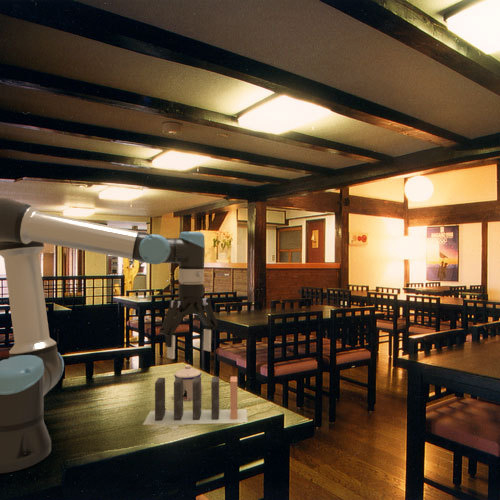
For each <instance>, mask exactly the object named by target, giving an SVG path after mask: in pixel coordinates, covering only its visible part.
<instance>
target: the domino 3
mask: <svg viewBox="0 0 500 500" xmlns="http://www.w3.org/2000/svg"><path fill="white" fill-rule="evenodd" d="M201 384H202V377H201V376H200V377H194V380H193V401H192V410H193V420H200V416H201V410H202V394H201Z"/></svg>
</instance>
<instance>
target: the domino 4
mask: <svg viewBox="0 0 500 500" xmlns="http://www.w3.org/2000/svg"><path fill="white" fill-rule="evenodd" d="M210 382H211V384H210V385H211V392H210V394H211V400H210V401H211V403H210V404H211V410H212V420H218V419H219V410H220V376H212V378H211V381H210Z"/></svg>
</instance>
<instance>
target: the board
mask: <svg viewBox="0 0 500 500" xmlns="http://www.w3.org/2000/svg"><path fill="white" fill-rule="evenodd" d="M243 422H247V423H248V408H244V409H243V408H239V409H238V408H237V419H231V417H230V408H229V409H219V419H218V420H212V409H201V416H200V420H193V409H188V410H186V409H183V416H182V418H181V420H174V409H172V410H165V415H164V417H163V419H162V421H155V410H150V411H149V413H148V414H147V416H146V418H145V420H144V422H142V426H147V425H153V426H154V425H159V426H161V425H196V424H197V425H199V424H200V425H204V424H205V425H208V424H210V425H211V424H244V423H243Z"/></svg>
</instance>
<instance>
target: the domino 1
mask: <svg viewBox="0 0 500 500" xmlns="http://www.w3.org/2000/svg"><path fill="white" fill-rule="evenodd" d="M154 411H155V421H162V419H163V417H164V415H165V411H166V378H165V377H158V378H157V380H156V381H155V382H154Z"/></svg>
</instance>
